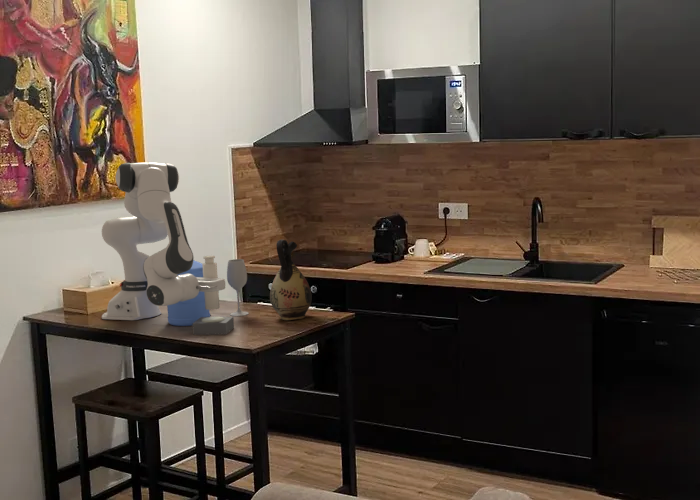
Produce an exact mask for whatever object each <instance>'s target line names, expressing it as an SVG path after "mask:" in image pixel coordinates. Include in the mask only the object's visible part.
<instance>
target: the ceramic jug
mask: <svg viewBox="0 0 700 500" xmlns="http://www.w3.org/2000/svg"><path fill="white" fill-rule="evenodd" d="M297 247H298V244H297V243H296V242H295V241H292V240H291V241H289V243H288V241H287V240H286V239H279V240H277V241H276V252H277V258H278V260H279V263H280V268H279V270H278V271H277V273H276V275H275V277H274V279H273V280H272V281H273V282H272V283H271V287H270V291H269V292H270V293H269V301H270V304H271V306H272V308H273V310H275V312H276V313H277V314H278V315H279V317H280V319H281V320H282V321H283V320H284V321H291V320H303V319H305V318H307V316H306V314H307V312H308V310H309V308H310V307H311V305H312V300H313V298H312V297H313V296H312V291H311V287H310V285H309V282H308V280H307V279H306V278H305V276H304V275H303V273H302V272H301V270H300V268H298V267H297V265H296V264H295V263H294V262H293V260H292V253H293V251H294V250H295V249H297Z"/></svg>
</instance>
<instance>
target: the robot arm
mask: <svg viewBox="0 0 700 500" xmlns="http://www.w3.org/2000/svg"><path fill="white" fill-rule="evenodd" d="M115 172H116V173H115V183H116V186H117V189H119V190H120V191H121V192H124V193H125V195H124V200H123V201H124V202H123V203H124V204H123V205H124V208H125V209H126V211H127V212H128V213H129V214H130V215H132V216H122V217H121V216H120V217H114V218H111V219H109V220H105V222H104V223H103V225H102V228H101V237H102V239H103V241H104V242H105V244H107V245H108V246H110V247H112V248H113V249H114V250H115V251H116V252H117V254H118V255H119V256H120V258H121V263H122V267H123V273H124V279H123V281H122V282H120V283H119V288H120V291H119V292H118V293H116V294H115V295H114V296H113V297H112V298H111V299H110V300H109V301H108V304H107V309H106V310H107V311H106V312H104V313H102V315H101V319H102V320H115V321H116V320H118V321H119V320H121V321H138V320H142V319H149V318H153V317H157V316H159V315H161V314H162V311H161V309H160V307H167V306H168V305H172V304H176V303H178V302H179V301H186V300H190V299H193V298H195V297H196V296H197V295H198V293H199V291H201V292H215V291H219V292H220V291H222V290H225V289H226V280H225V279H224V278H220V277H218V278H203V277H195V276H194V275H192V274H189V273H187V274H183V275H178V274H180V273H183V272H186V271H188V270H190V269H191V267H192V265H193V260H195V259H194V258H195V257H194V253H193V250H192V248H191V246H190V244H189V241H188V237H187V234H186V229H185V225H184V223H183V218H182V215H181V213H180V212H181V211H180V209H179V208H178V205H177V204H175V203H174V202H172V198H171V193H172V192H174V191H175V190H176V189H178V188H177V187H178V185H179V182H180V174H179V172H178V169H177V167H176V166H175V165H174V164H171V163H168V162H165V163H161V162H152V161H151V162H149V161H148V162H133V163H132V162H131V163H130V162H124V163H121V164H120V165H119V166H118V167H117V170H116V171H115ZM167 237H168V241H169V242H168V244H167V246H166V247H164V248H163V249H161V250H159V251H157V252H155V253H153V254H151V255H148V254H146V253H144V252H141V251H139V250H138V248H137V245H142V244H151V243H152V244H153V243H156V242H160V241H164V240H165V239H167Z"/></svg>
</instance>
